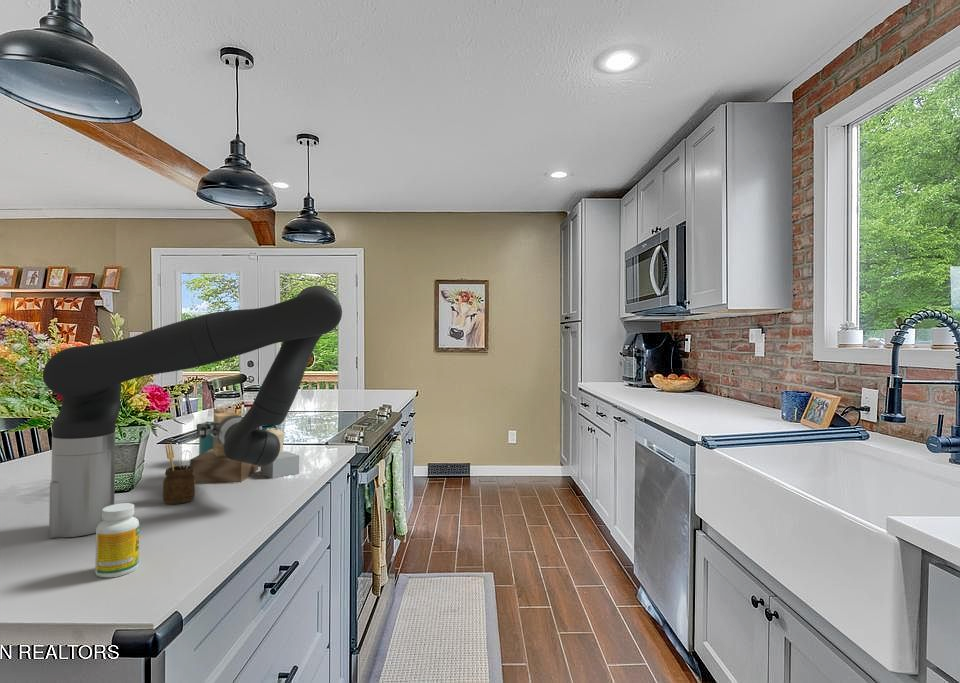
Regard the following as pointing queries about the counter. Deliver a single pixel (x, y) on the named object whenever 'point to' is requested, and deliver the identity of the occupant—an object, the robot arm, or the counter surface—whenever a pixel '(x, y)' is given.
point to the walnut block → (219, 469)
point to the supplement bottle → (117, 541)
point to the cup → (205, 443)
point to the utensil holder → (178, 481)
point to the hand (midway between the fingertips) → (225, 424)
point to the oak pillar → (217, 446)
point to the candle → (278, 434)
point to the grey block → (282, 466)
